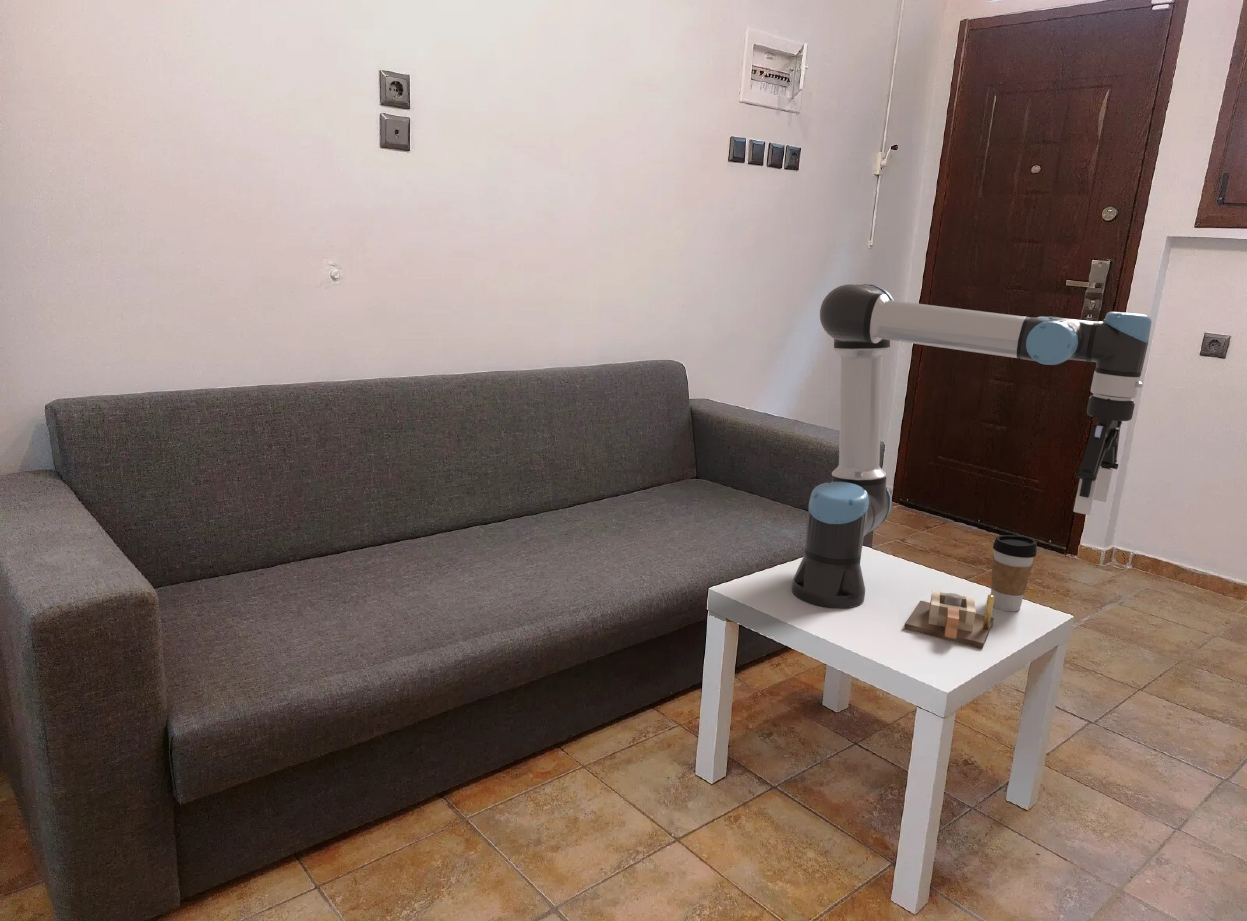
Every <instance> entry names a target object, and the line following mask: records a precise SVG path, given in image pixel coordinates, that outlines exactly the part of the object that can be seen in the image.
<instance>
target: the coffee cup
mask: <svg viewBox="0 0 1247 921" xmlns="http://www.w3.org/2000/svg"><path fill="white" fill-rule="evenodd" d="M1037 545H1038V541H1037V540H1036V539H1033V538H1032V537H1028V536H1025V535H1010V534H1008V535H1007V534H1006V535H1005V534H1002V535H998V536H996V537H995V540H994V542H993V544H992V549H993V550H994V552H993V556H992V566H991V567H992V568H991V582H990V583H991V585H990V588H991V589H990V595H994V596H995V598H994V603H993V608H995V609H997V610H1001V611H1005V612H1018V611H1020V610H1021V606H1022V603H1023V600H1024V595H1025V592H1026V588H1027V586H1028V583H1029V580H1030V579H1029V578H1030V575H1031V572H1032V568H1033V565H1034V563H1033V560H1034V558H1035V557H1036V556H1037V553H1038V550H1037V548H1038V546H1037Z"/></svg>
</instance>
